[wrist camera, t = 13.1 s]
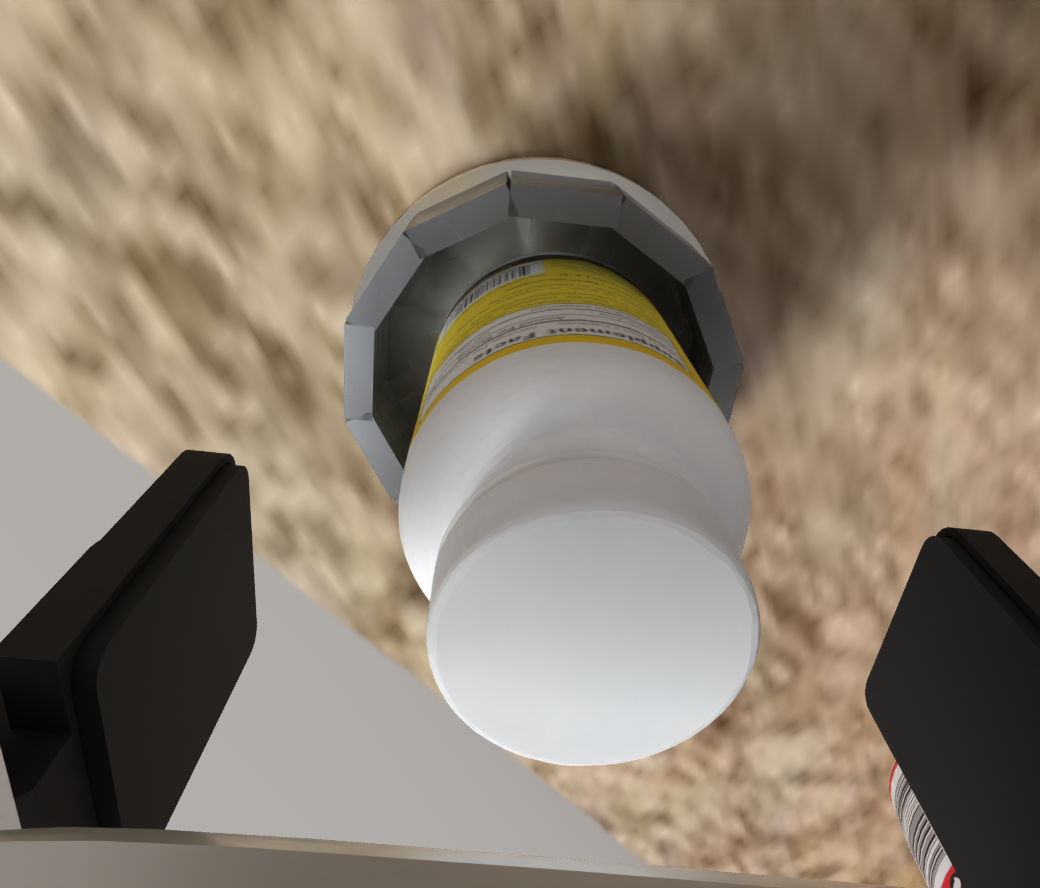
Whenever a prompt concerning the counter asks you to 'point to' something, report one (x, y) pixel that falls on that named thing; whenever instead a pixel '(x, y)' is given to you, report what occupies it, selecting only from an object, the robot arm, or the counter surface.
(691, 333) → the ring socket
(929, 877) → the soda can
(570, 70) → the counter surface
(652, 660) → the supplement bottle
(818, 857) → the counter surface
